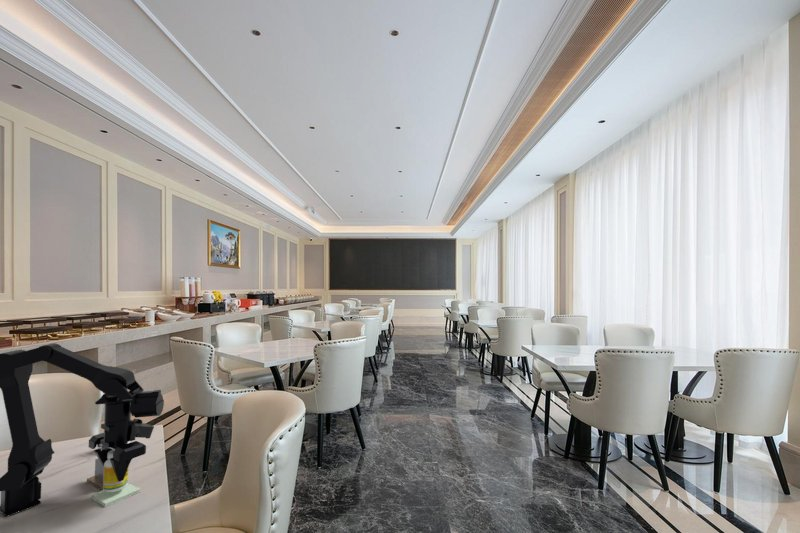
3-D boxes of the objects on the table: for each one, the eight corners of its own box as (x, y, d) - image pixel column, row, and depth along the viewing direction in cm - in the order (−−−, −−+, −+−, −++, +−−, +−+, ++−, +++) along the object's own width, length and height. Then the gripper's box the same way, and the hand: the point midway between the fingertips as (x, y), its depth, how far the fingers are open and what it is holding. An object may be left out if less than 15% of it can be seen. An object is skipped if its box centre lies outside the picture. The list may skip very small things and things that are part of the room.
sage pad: (105, 507, 96) (105, 503, 96) (91, 498, 100) (91, 495, 100) (139, 492, 103) (139, 489, 103) (125, 484, 107) (125, 481, 107)
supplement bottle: (102, 486, 102) (103, 450, 103) (127, 480, 105) (128, 444, 106) (103, 495, 98) (104, 457, 98) (128, 488, 101) (129, 451, 102)
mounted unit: (102, 491, 103) (103, 469, 104) (86, 482, 108) (87, 460, 109) (127, 481, 108) (128, 460, 109) (111, 473, 114) (111, 452, 114)
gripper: (167, 415, 105) (166, 473, 104) (133, 405, 114) (132, 458, 113) (121, 429, 95) (119, 493, 94) (88, 416, 105) (86, 474, 104)
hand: (115, 477), depth 102 cm, fingers closed on supplement bottle, 5 cm apart
